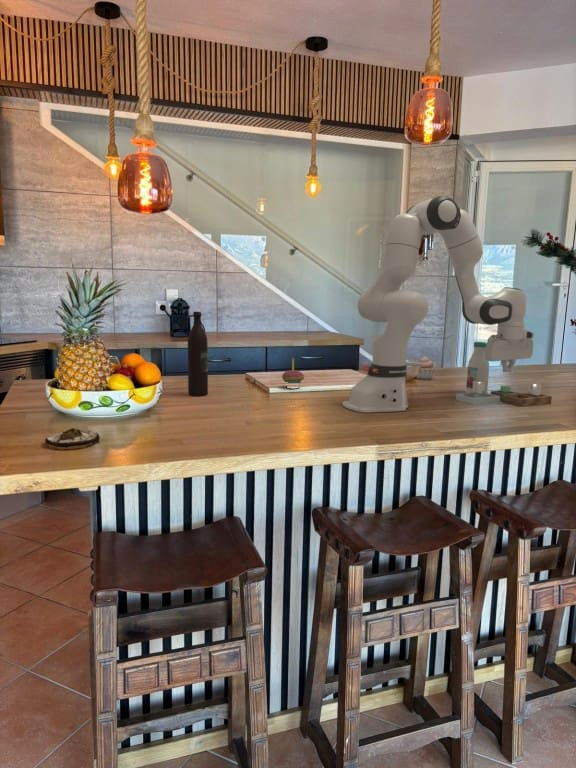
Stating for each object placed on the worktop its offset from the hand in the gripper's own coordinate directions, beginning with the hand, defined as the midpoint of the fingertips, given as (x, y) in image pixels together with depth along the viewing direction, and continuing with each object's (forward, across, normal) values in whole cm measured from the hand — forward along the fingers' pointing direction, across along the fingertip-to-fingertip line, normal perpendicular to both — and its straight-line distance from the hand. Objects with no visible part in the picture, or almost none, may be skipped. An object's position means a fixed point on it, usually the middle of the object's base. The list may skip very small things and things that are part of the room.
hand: (507, 372), depth 203 cm
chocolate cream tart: (+8, -148, +1) cm, 148 cm away
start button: (+8, -1, 0) cm, 8 cm away
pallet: (+10, +1, -8) cm, 13 cm away
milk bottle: (+10, -3, +12) cm, 16 cm away
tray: (+10, -13, +1) cm, 16 cm away
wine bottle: (+9, -100, +49) cm, 112 cm away
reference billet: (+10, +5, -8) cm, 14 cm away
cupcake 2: (+11, +3, +49) cm, 50 cm away
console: (+10, -1, 0) cm, 10 cm away
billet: (+10, -13, +1) cm, 16 cm away
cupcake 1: (+10, -62, +49) cm, 80 cm away
